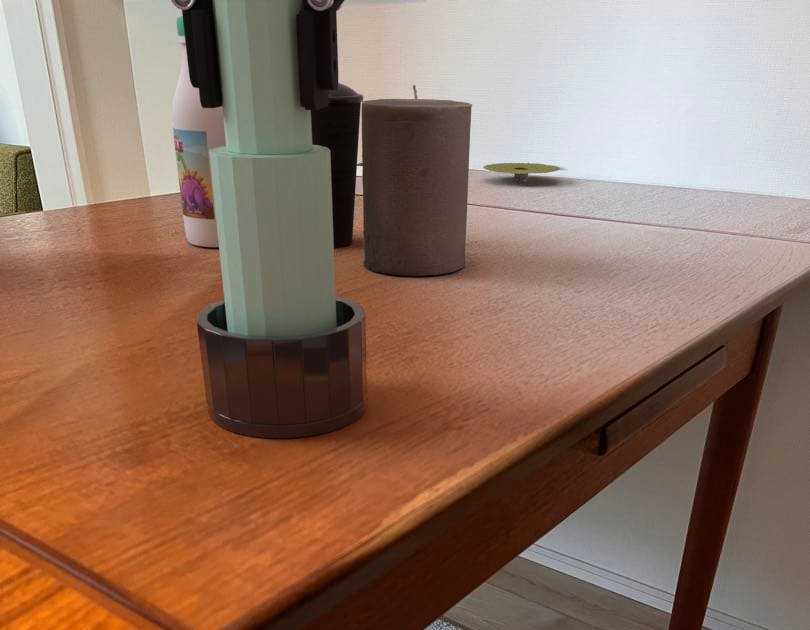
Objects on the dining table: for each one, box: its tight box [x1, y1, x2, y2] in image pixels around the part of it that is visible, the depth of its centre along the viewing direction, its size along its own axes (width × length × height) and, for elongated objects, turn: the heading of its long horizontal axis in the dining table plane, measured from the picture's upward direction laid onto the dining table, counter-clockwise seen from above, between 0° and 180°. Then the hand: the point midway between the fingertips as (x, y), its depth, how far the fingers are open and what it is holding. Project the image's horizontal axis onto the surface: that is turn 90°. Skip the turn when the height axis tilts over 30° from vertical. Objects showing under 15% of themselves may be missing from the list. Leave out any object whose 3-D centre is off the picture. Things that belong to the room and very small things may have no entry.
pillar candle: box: [361, 84, 473, 277], centre depth 76 cm, size 10×10×15 cm
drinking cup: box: [311, 82, 365, 248], centre depth 82 cm, size 8×8×20 cm
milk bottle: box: [171, 15, 226, 248], centre depth 83 cm, size 8×8×20 cm
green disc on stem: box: [482, 162, 561, 183], centre depth 124 cm, size 11×11×2 cm
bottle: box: [209, 0, 337, 337], centre depth 43 cm, size 6×6×18 cm
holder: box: [196, 295, 368, 439], centre depth 48 cm, size 9×9×6 cm
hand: (266, 102), depth 41 cm, fingers closed on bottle, 4 cm apart
